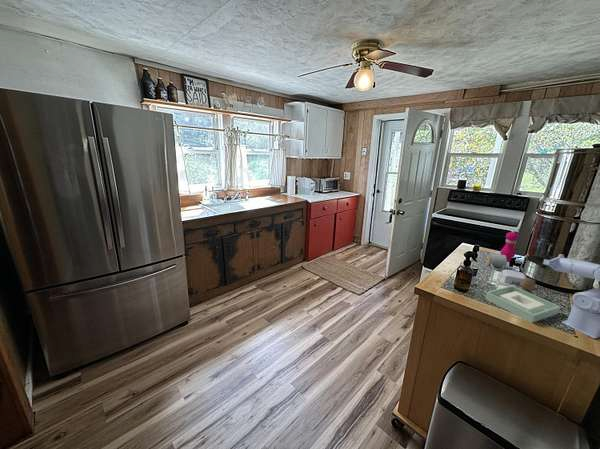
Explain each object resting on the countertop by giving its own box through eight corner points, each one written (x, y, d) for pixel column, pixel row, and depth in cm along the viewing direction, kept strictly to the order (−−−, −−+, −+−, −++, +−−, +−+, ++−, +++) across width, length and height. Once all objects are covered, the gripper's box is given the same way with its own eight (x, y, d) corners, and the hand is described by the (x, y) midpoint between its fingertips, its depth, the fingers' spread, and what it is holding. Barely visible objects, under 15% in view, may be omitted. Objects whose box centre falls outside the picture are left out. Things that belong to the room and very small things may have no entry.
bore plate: (542, 310, 106) (545, 304, 105) (526, 315, 102) (528, 309, 101) (513, 296, 116) (515, 291, 115) (498, 301, 112) (499, 295, 111)
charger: (519, 276, 137) (526, 288, 125) (498, 272, 142) (503, 283, 129) (521, 268, 136) (529, 280, 123) (500, 264, 140) (506, 275, 128)
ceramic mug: (485, 262, 154) (488, 251, 151) (501, 265, 150) (504, 253, 148) (489, 269, 145) (492, 257, 142) (506, 272, 141) (510, 260, 139)
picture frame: (557, 314, 104) (560, 306, 103) (531, 324, 98) (534, 315, 97) (510, 292, 120) (512, 285, 119) (484, 299, 114) (486, 291, 113)
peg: (532, 296, 118) (537, 281, 115) (527, 297, 116) (532, 282, 114) (522, 291, 121) (527, 277, 119) (517, 293, 120) (522, 278, 118)
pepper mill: (502, 261, 155) (510, 231, 150) (496, 257, 162) (503, 228, 156) (515, 262, 154) (524, 232, 148) (508, 258, 161) (516, 228, 155)
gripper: (588, 258, 99) (545, 251, 112) (566, 255, 94) (524, 248, 107) (583, 276, 99) (542, 266, 112) (562, 273, 95) (521, 264, 107)
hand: (533, 258), depth 109 cm, fingers open, 7 cm apart
